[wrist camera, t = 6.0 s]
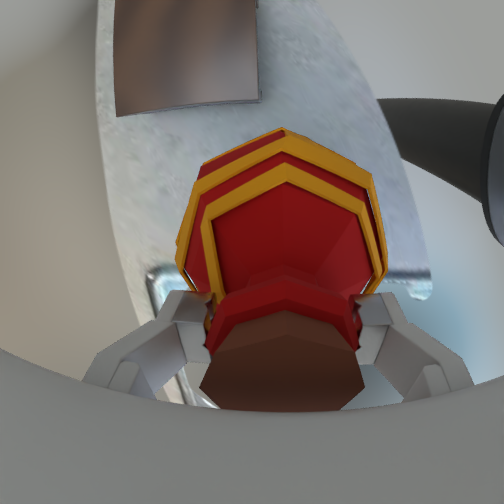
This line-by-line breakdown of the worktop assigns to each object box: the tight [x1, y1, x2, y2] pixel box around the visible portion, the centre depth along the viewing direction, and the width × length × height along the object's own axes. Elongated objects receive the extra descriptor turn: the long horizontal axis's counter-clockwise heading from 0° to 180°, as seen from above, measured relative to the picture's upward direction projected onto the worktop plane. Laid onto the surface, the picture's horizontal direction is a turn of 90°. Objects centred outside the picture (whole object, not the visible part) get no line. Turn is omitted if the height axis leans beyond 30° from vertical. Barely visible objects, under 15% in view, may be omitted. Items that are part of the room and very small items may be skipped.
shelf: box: [113, 0, 262, 117], centre depth 19 cm, size 12×12×7 cm
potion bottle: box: [175, 127, 388, 412], centre depth 13 cm, size 10×10×15 cm
